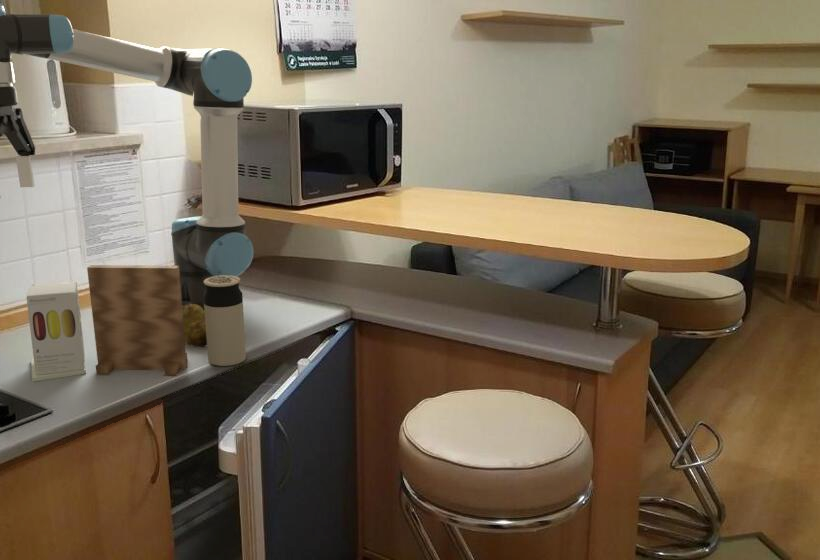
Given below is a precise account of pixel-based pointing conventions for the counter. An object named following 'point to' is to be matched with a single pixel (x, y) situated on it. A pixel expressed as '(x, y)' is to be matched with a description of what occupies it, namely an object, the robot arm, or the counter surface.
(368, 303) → the counter surface
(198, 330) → the potato
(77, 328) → the supplement box
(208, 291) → the travel mug
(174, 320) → the screen
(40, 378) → the sticky note pad
